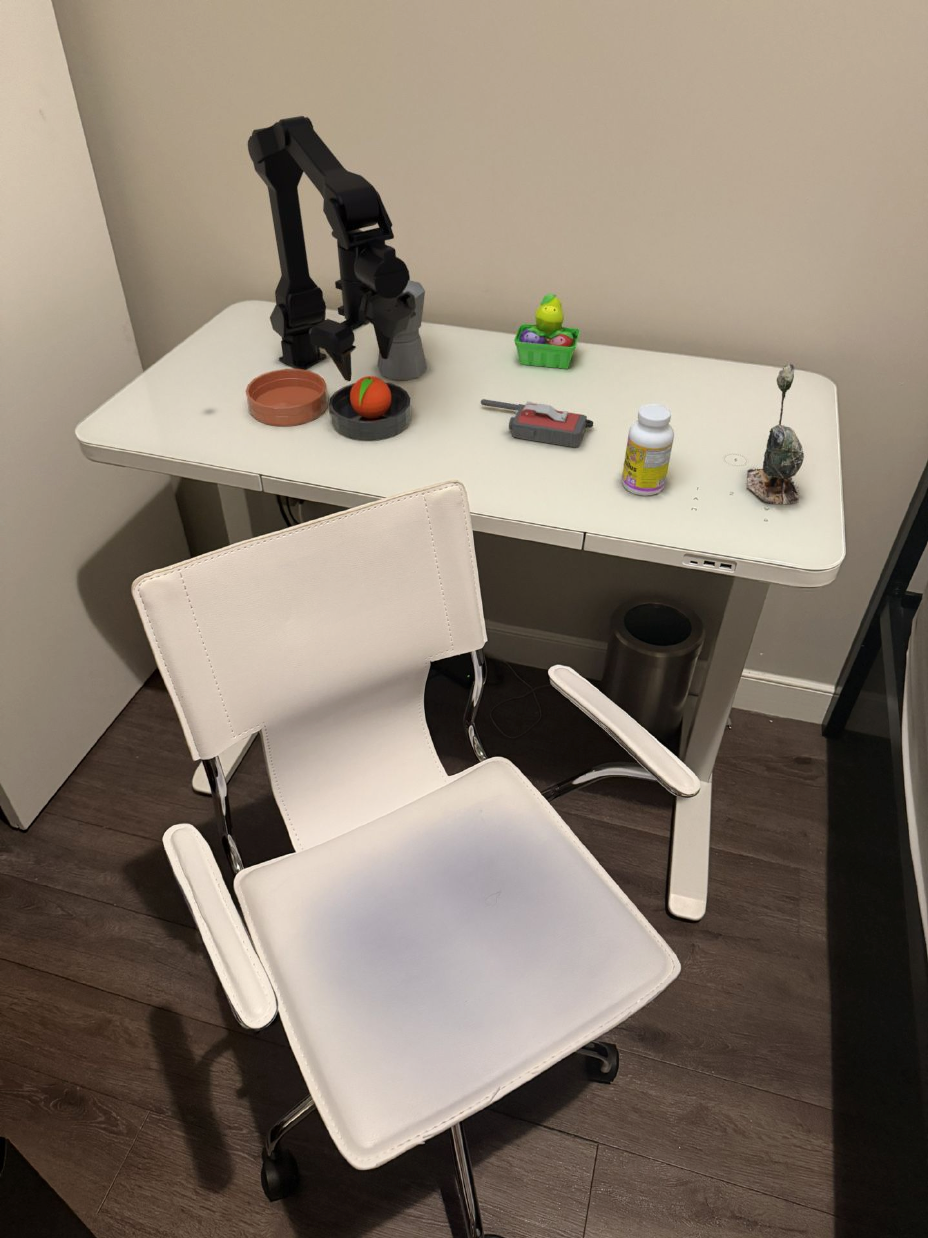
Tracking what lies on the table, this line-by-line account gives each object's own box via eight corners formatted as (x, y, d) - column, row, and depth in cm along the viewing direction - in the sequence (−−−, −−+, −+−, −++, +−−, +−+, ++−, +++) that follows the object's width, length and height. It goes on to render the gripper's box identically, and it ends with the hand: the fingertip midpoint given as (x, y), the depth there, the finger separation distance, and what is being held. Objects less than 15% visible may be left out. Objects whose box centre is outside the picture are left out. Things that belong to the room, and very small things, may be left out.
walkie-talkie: (595, 423, 151) (482, 405, 155) (598, 400, 148) (482, 382, 152) (584, 451, 145) (467, 431, 149) (587, 427, 142) (467, 407, 146)
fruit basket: (512, 366, 165) (514, 308, 157) (520, 345, 172) (523, 287, 164) (573, 373, 163) (578, 314, 156) (579, 351, 170) (584, 293, 162)
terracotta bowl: (288, 379, 162) (285, 361, 159) (344, 402, 156) (342, 383, 154) (232, 410, 154) (229, 392, 151) (289, 435, 148) (286, 416, 146)
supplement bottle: (617, 473, 140) (627, 400, 131) (658, 471, 140) (671, 398, 131) (626, 498, 135) (637, 424, 126) (669, 496, 135) (683, 422, 127)
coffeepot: (422, 388, 160) (419, 289, 147) (370, 385, 160) (362, 287, 148) (433, 348, 171) (431, 253, 158) (385, 345, 171) (379, 251, 159)
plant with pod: (742, 509, 133) (773, 388, 119) (745, 468, 141) (776, 350, 127) (798, 518, 131) (837, 396, 118) (799, 476, 139) (835, 357, 125)
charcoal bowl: (366, 391, 159) (365, 373, 156) (427, 415, 153) (426, 396, 150) (314, 424, 151) (312, 405, 148) (376, 450, 145) (374, 431, 142)
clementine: (381, 432, 148) (378, 393, 143) (343, 425, 149) (338, 387, 144) (398, 408, 153) (396, 370, 148) (360, 402, 155) (357, 364, 150)
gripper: (358, 309, 126) (366, 408, 136) (438, 266, 137) (440, 361, 147) (301, 290, 130) (313, 386, 141) (383, 250, 141) (388, 342, 152)
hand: (366, 369), depth 145 cm, fingers open, 9 cm apart
